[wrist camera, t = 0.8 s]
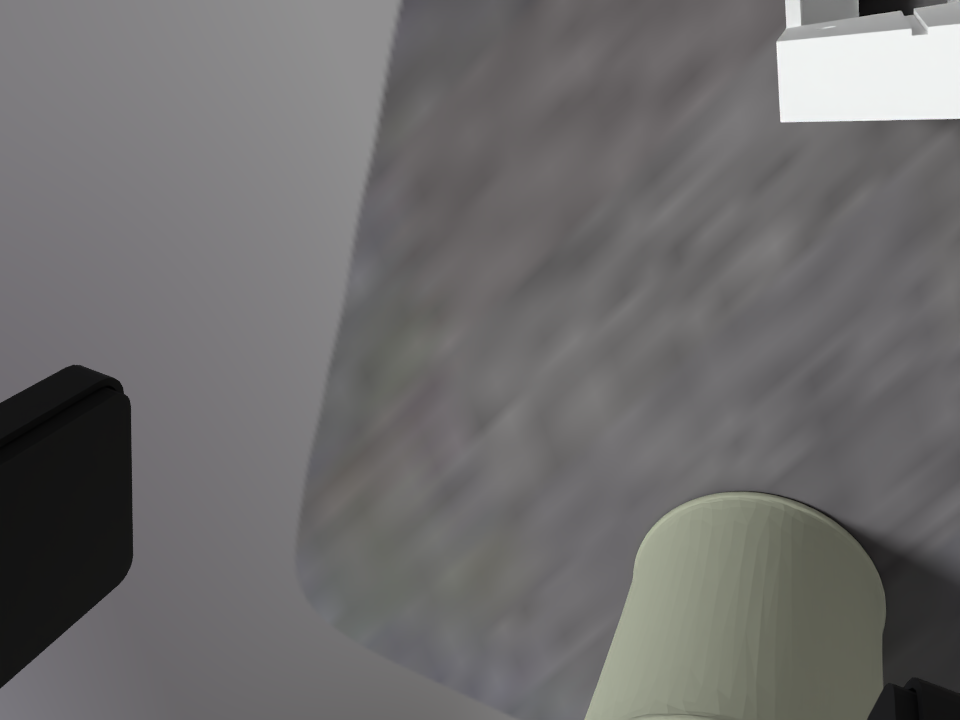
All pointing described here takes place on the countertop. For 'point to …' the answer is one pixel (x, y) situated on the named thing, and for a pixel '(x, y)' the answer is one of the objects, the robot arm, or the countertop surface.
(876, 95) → the white angled block
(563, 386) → the countertop surface
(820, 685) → the can
